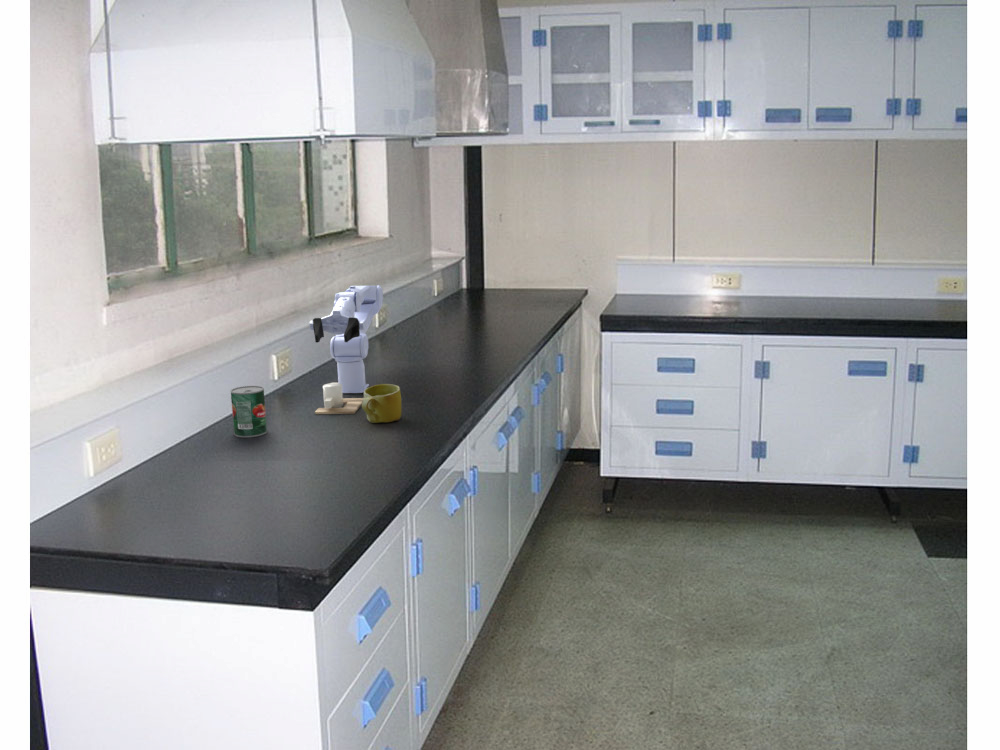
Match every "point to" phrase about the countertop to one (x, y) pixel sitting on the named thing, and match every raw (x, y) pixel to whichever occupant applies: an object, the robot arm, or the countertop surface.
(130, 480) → the countertop surface
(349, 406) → the dock
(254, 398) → the canned tomato
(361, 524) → the countertop surface
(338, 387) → the white piece
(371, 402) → the mug
